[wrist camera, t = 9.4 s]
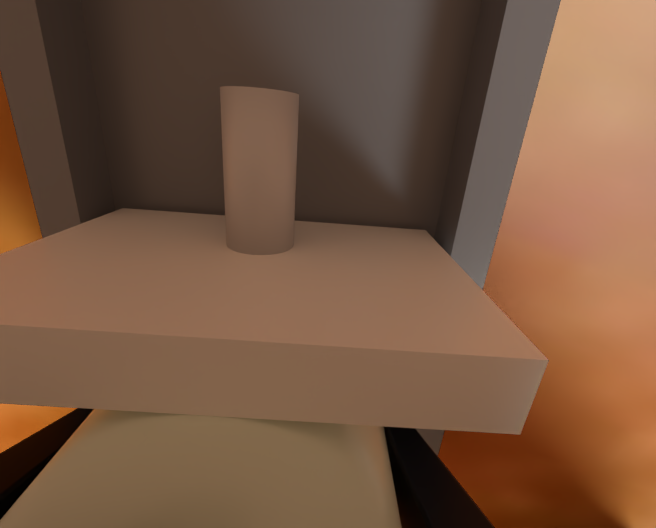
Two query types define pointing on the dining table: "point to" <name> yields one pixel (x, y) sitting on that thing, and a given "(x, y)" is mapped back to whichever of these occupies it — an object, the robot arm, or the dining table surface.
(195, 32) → the lane
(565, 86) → the dining table surface
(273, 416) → the pusher
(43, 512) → the jar
